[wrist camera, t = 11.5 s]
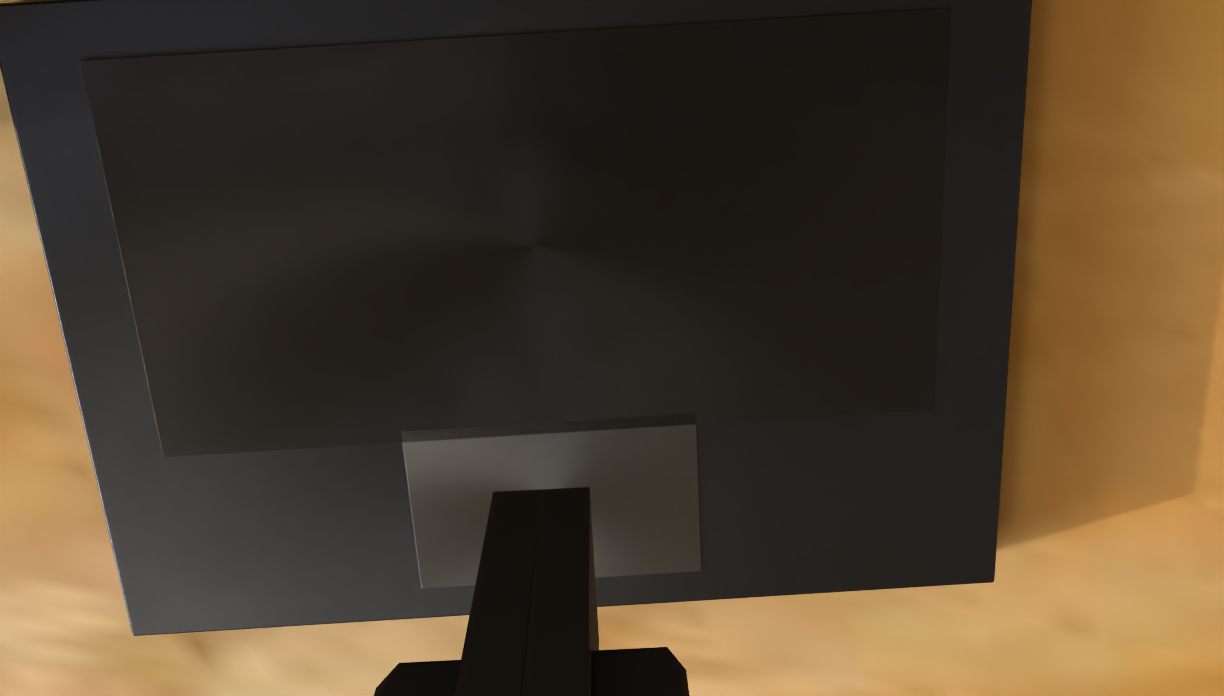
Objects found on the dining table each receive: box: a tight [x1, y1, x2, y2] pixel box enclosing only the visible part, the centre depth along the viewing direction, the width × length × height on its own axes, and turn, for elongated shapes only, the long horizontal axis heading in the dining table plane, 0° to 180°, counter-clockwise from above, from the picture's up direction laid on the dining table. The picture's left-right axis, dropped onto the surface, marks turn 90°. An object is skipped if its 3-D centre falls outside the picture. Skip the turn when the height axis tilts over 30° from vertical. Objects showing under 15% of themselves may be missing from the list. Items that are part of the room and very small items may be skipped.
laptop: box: [0, 0, 1032, 636], centre depth 36 cm, size 21×30×2 cm
